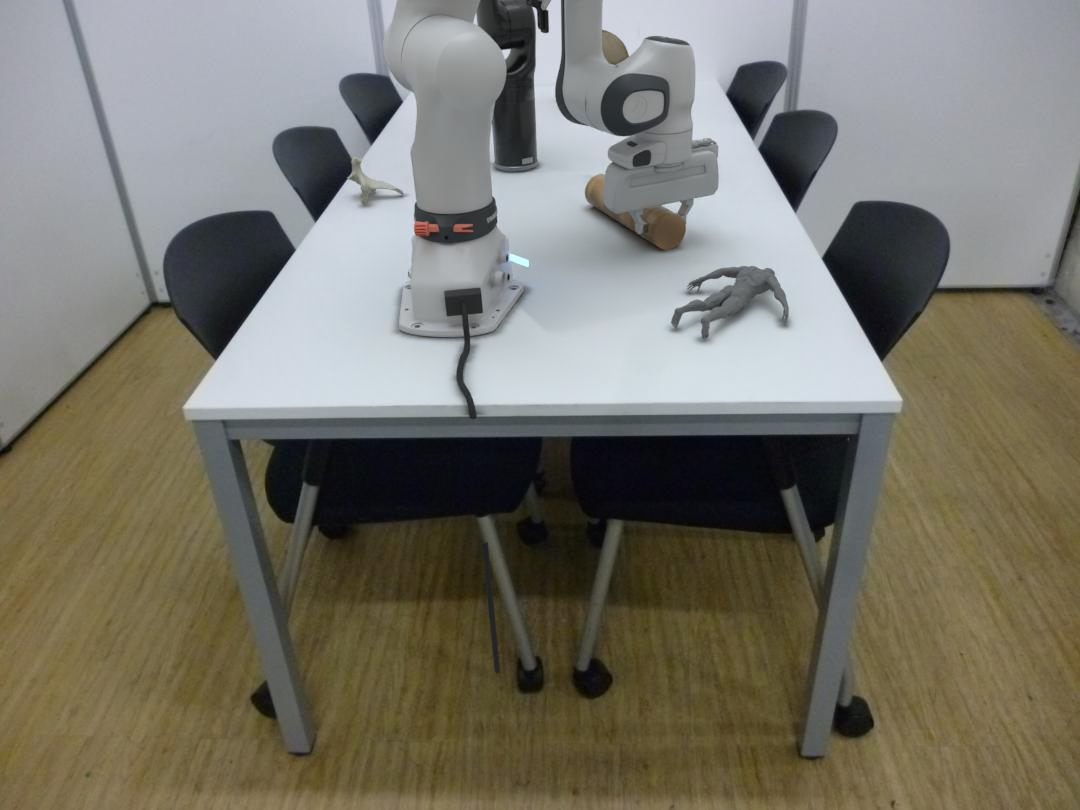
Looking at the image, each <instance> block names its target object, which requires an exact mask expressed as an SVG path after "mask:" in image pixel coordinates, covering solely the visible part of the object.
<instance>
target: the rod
mask: <svg viewBox="0 0 1080 810" xmlns="http://www.w3.org/2000/svg"><path fill="white" fill-rule="evenodd" d="M604 178H605V173H598V174H596V175H593V176H592V177H591V178H589V180H588V181H587V183H586V185H585V188H584V197H585V199H586V201H587V202H588V204H589V205H591V206H592V207H594V208H595V209H598V211H600V212H601V213H604V214H606V215H607V216H608V217H609V218H611V219H613V220H615V221H616V222H618V223H619V224H621V225H623V226H624V227H626V228H627V229H629V230H631V232H634V233H636V234H637V235H638V236H640V237H641V238H643V239H645V240H646V241H648V242H649V243H651V244H653V245H655V246H656V247H657V248H659V249H660V250H665V251H668V250H672V249H674V248H676V247H677V246H678V245H680V243H681V242H682V241H683V239H684V237H685V234H686V229H687V224H685V221H684V219H683V218H682V217H681V216H679V215H678V214H676V213H677V212H674V211H672V210H671V209H668V208H666V207H665V206H663V205H659V206H654V207H649V208H644V209H643V214H642V215H640V217H641V219H642V220H644V221H645V222H647V223H648V228H647V229H648V232H647V233H643V234H638V233H637V232H636V231H635V221H634V220H633V218H632V216H631V214H630V213H629V212H624V213H619V214H616V213H614V212H612V211H610V210H609V209H608V208H607V207H606V206H605V205H604V201H603V190H604Z"/></svg>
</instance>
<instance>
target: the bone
mask: <svg viewBox="0 0 1080 810" xmlns="http://www.w3.org/2000/svg"><path fill="white" fill-rule="evenodd" d="M362 161H363V159H362V158H360V157H358V156H354V157H352V159H351V161H350V163H351V164H350V165H351V173H350V175H349V176H347V178H346V179H347V180H349V181H352V182H355V183H356V184H357V185H359V186H360V190H361V193H362V194H361V198H360V201H359V202H360V204H362V205H364V206H365V205H367V203H368V202H369V195H370V193H375V192H377V190H389V191H394V192H397V193H399V194H400V195H404V194H405V193H404V191H403V190H401V189H400V188H398V187H396V186H394V185H393V184H391V183H389V182H386V181H383V180H377V179H373V178H372V177H369V176H367V175H366V174H365V173H364V171H363V170H362V167H361V164H362Z"/></svg>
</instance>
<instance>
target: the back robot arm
mask: <svg viewBox="0 0 1080 810" xmlns="http://www.w3.org/2000/svg"><path fill="white" fill-rule="evenodd" d="M551 1H552V0H480V3H479V6H478V9H477V12H476V15H475V17H476V25H477V26H479V27H480V28H482V29H483V30H484V31H485V32H486V33H487V34H488V35H489V36H490V37H491V38H492V39H493V40H494V41H495V42H496V43H497V45H498V46H499V47H500V49H501V51H505V50H509V54H508V55H507V57H506V58H505V62H506V80H505V84H504V87H503V90H502V92H501V94H500V95H499V97H498V98H497V100H496V101H495V107H494V113H493V119H492V126H491V130H492V142H493V156H494V158H493V159H494V168H495V169H497V170H499V171H502V172H510V173H511V172H512V173H513V172H514V173H516V172H518V173H519V172H525V171H530V170H533V169H536V167H538V166H539V159H538V140H537V118H536V94H535V72H536V66H537V65H536V64H537V61H536V60H537V58H536V57H537V56H536V55H537V53H536V52H537V49H536V48H537V28H538V30H540V33H543V34H548V33H550V19H549V10H548V7H549V5H550V4H551ZM534 10H536V15H535V11H534ZM536 18H537V19H536ZM536 20H537V22H536Z"/></svg>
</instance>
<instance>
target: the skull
mask: <svg viewBox="0 0 1080 810" xmlns="http://www.w3.org/2000/svg"><path fill="white" fill-rule="evenodd" d="M602 52H603V55H604V57H605V59H606V60H607V62H608V63H610V64H613V65H616V64H618V63H620V62H622V61H623V60H625V59H626V58H628V57H629V56H630V55H629V52H628V49H627V46H626V45H625V43H624V41H623V40H622V39H621V38H619V37H618V36H617V35H616V34H614V33H613V32H610V31H608V30H605V29H602Z"/></svg>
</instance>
